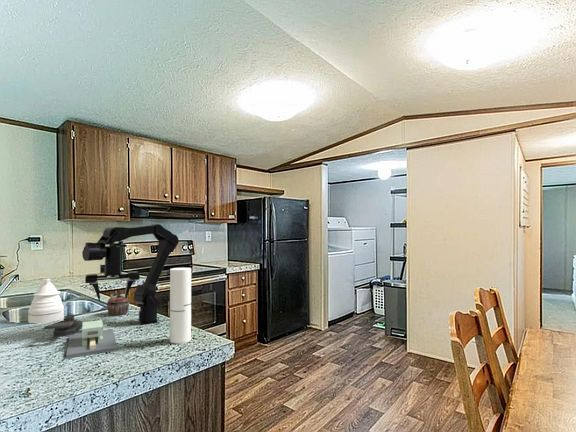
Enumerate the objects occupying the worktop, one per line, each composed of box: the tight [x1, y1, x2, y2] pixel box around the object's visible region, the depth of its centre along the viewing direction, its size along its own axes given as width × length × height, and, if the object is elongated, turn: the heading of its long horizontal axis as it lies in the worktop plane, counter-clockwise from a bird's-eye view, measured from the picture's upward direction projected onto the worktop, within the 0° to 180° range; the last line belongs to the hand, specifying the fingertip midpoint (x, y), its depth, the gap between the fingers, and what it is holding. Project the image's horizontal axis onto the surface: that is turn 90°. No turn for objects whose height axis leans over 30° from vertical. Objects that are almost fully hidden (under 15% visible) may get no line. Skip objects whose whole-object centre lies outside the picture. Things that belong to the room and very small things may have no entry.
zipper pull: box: [43, 313, 84, 338], centre depth 131 cm, size 9×7×25 cm
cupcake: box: [106, 291, 130, 317], centre depth 163 cm, size 10×10×10 cm
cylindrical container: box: [169, 267, 192, 344], centre depth 124 cm, size 7×7×25 cm
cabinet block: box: [81, 319, 104, 346], centre depth 120 cm, size 6×11×6 cm, turn 30°
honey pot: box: [27, 278, 65, 324], centre depth 153 cm, size 13×13×18 cm
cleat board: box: [65, 328, 119, 359], centre depth 120 cm, size 14×24×2 cm, turn 30°
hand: (112, 299), depth 136 cm, fingers open, 9 cm apart
